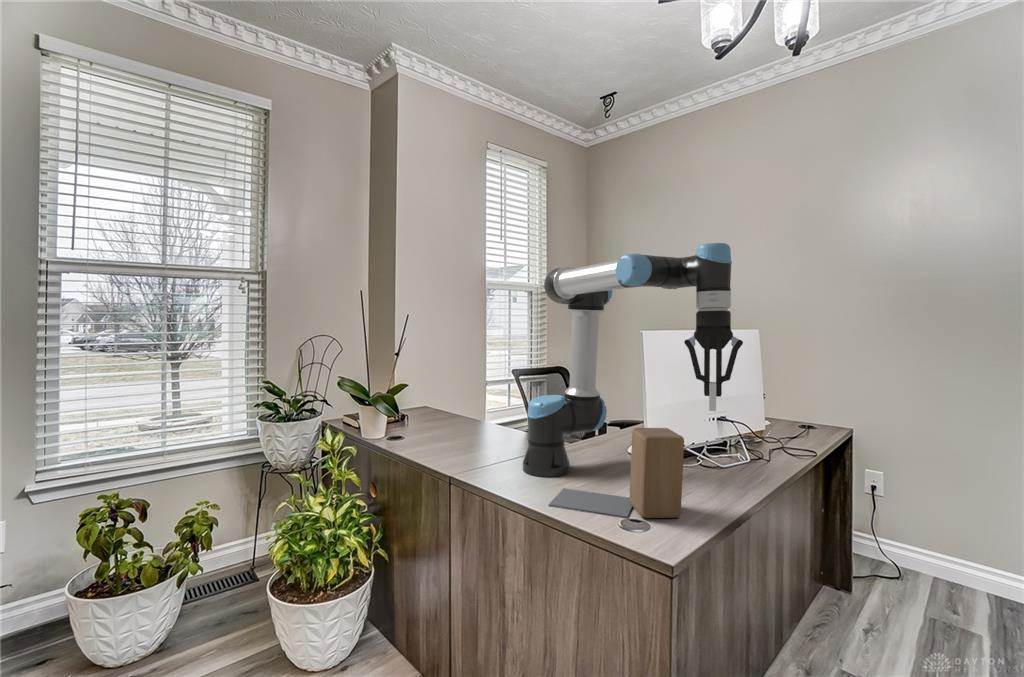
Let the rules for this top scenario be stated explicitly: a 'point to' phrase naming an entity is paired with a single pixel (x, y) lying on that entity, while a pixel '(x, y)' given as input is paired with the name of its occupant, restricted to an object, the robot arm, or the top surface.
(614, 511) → the mat
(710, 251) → the robot arm
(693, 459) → the top surface
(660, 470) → the block
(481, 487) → the top surface
